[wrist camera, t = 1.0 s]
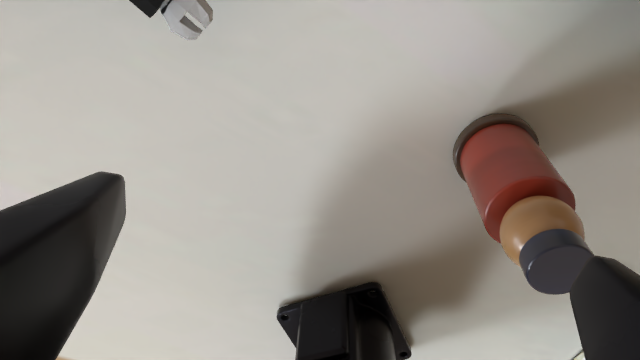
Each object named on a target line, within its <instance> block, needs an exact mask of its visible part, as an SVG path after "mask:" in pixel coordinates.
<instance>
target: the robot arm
mask: <svg viewBox="0 0 640 360" xmlns="http://www.w3.org/2000/svg"><path fill="white" fill-rule="evenodd" d="M125 215H126V201H125V181H124V178H123V177H122V176H121V175H119V174H114V173H108V172H97V173H94V174H92V175H89V176H87V177H84V178H82V179H79V180H77V181H74V182H72V183H69V184H67V185H64V186H61V187H59V188H56V189H54V190H51V191H49V192H46V193H44V194H41V195H39V196H36V197H34V198H31V199H29V200H26V201H23V202H21V203H18V204H16V205H13V206H11V207H8V208H6V209H3V210H1V211H0V360H56V358H57V356H58V355H59V353H60V351H61V349H62V348H63V346H64V344H65V342H66V341H67V339H68V337H69V336H70V334H71V332H72V330H73V329H74V327H75V325H76V323H77V322H78V320H79V318H80V317H81V315H82V313H83V311H84V310H85V308H86V306H87V304H88V303H89V301H90V299H91V297H92V295H93V293H94V292H95V289H96V287H97V285H98V283H99V281H100V278H101V276H102V273H103V271H104V269H105V266H106V264H107V262H108V259H109V257H110V255H111V252H112V250H113V248H114V245H115V243H116V240H117V238H118V236H119V233H120V231H121V229H122V226H123V224H124V220H125ZM371 291H375V292H371ZM570 300H571V304H572V308H573V312H574V316H575V320H576V324H577V328H578V332H579V336H580V340H581V344H582V348H583V352H584V356H585V360H640V275H638V274H637V273H635V272H634V271H632V270H631V269H629V268H628V267H626V266H625V265H623V264H621V263H620V262H618V261H617V260H615V259H612V258H606V257H600V256H592V257H590V258H589V259H588V260H587V261H586V263H585V264H584V266H583V268H582V269H581V271H580V272H579V274H578V276H577V277H576V279H575V281H574V282H573V284H572V286H571V289H570ZM285 315H287V316H285ZM277 320H278V321H279V323H280V324H281V326H282V327H283V329H284V330H285V332H286V333H287V335H288V337H289V338H290V340H291V341H292V343H293V344H294V346H295V347H296V359H295V360H405V359H408V358H409V357H411V348H410V345H409V343H408V341H407V339H406V337H405V335H404V333H403V331H402V329H401V327H400V324H399V322H398V320H397V318H396V316H395V314H394V312H393V310H392V308H391V306H390V303H389V301H388V299H387V297H386V295H385V293H384V291H383V289H382V287H381V285H380V284H378V283H375V282H371V283H367V284H363V285H360V286H356V287H353V288H349V289H345V290H342V291H338V292H335V293H331V294H327V295H324V296H320V297H317V298H313V299H309V300H306V301H302V302H298V303H295V304H291V305H288V306H284V307H281V308H279V310H278V312H277Z"/></svg>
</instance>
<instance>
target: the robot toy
mask: <svg viewBox="0 0 640 360" xmlns="http://www.w3.org/2000/svg"><path fill="white" fill-rule="evenodd" d="M129 1H131V2H132V3H133V4H134V5H135V6H137V7H138V8H139V9H140V10H141V11H142V12H144V13H145V14H146V15H147V16H148V17H150V18H151V17H152V16H153V15H154V14H155V13H156V12H157V10H158V9H159V8H160V9H161V13H162V15H163V17H164V19H165V21H166V23H167V25H168V27H169V29H170V31H171V32H173V33H175V34H177V35H178V36H180V37H182V38H184V39H185V40H191V39H197V37H198V36H199V35H200V34H201V32H202V31H203V30H201V29H200V28H198V27H197V26H196V25H195V24H194V23H192V22H191V21H190V20H189V19H188V18H187V17H186V16H185V14H186V13H187V12H188V13H190V14H191V15H192V16H193V17H194V18H195V19H197V20H198V21H199V22H200V23H201V24H202V25H203V26H204V27H205V28H206V27H207V26H208V25H209V24H210V22H211V21H212V17H213V10H212V9H211V7H210V6H209V4H208V3H207V2H206V0H129Z"/></svg>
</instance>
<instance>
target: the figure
mask: <svg viewBox="0 0 640 360" xmlns="http://www.w3.org/2000/svg"><path fill="white" fill-rule="evenodd" d="M453 160H454V164H455V167H456V169H457V172H458V174H459V175H460V177H461V178H462V179H463V180H464V181H465V182H466V183H467V185H468V187H469V189H470V192H471V194H472V197H473V199H474V201H475V204H476V206H477V209H478V211H479V214H480V216H481V218H482V221H483V223H484V226H485V228H486V230H487V232H488V234H489V235H490V236H491V237H492V238H493V239H494V240H496V241H497V242H499V243H501V244H502V247H503V249H504V251H505V253H506V254H507V256H508V257H509V258H510V259H511V260H512V261H513V262H514V263H515V264H516V265H518V266H519V267H521V268H522V270H523V272H524V275H525V277H526V279H527V281H528V283H529V284H530V285H531V287H533V288H534V289H535V290H537V291H539V292H541V293H545V294H553V295H554V294H564V293H568V292H570V289H571V286H572V284H573V282H574V281H575V279H576V277H577V276H578V274H579V272H580V271H581V269H582V268H583V266H584V264H585V263H586V261H587V260H588V259H589V258H590V257H592V256H594V254H593V253H592V251H591V250H590V248H589V247H588V246H587V244H586V243H585V241H584V240H585V233H584V227H583V224H582V221H581V219H580V218H579V216H578V214H577V213H576V212H575V198H574V195H573V193H572V191H571V189H570V188H569V187H568V185H567V184H566V183H565V181H564V180H563V179H562V177H561V176H560V175H559V173H558V172H557V170H556V169H555V168H554V166H553V165H552V164H551V162H550V161H549V160H548V158H547V157H546V156H545V154H544V153H543V152H542V150H541V149H540V147H539V142H538V139H537V136H536V134H535V133H534V131H533V130H532V129H531V127H530V126H529V125H528V124H527V123H526V122H525V121H524V120H522V119H520V118H518V117H516V116H513V115H508V114H493V115H488V116H485V117H482V118H480V119H478V120H476V121H474V122H473V123H471V124H470V125H469V126H467V127H466V128H465V129H464V130H463V131H462V133H461V134H460V135H459V137H458V139H457V141H456V143H455V146H454V150H453Z"/></svg>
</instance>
